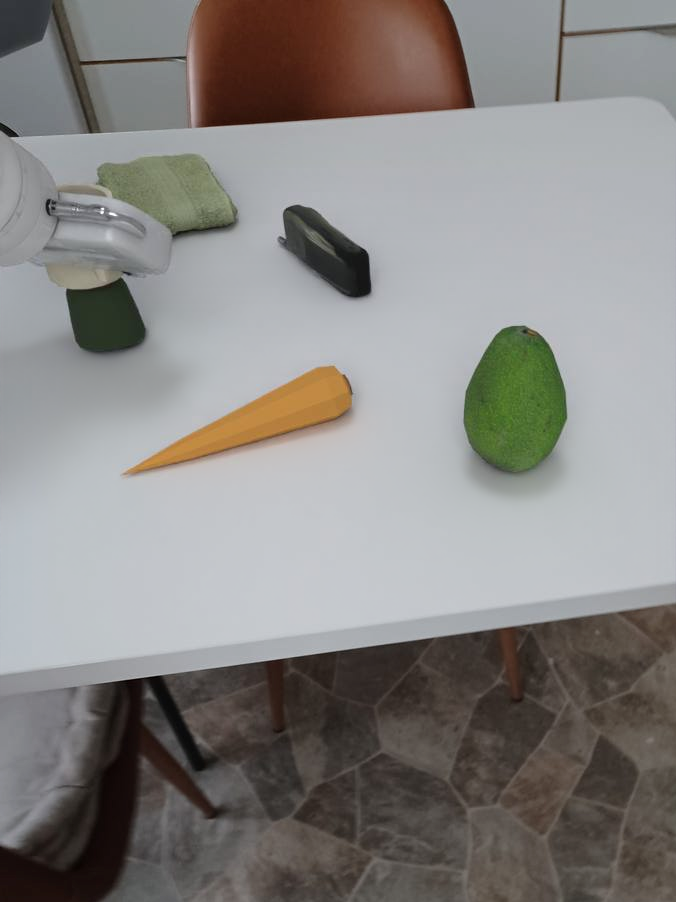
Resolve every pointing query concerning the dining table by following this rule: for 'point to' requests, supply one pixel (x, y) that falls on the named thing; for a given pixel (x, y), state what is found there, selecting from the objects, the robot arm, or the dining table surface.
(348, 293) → the black stapler
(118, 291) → the character mug
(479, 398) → the avocado
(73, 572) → the dining table surface
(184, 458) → the carrot
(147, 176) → the washcloth
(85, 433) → the dining table surface
